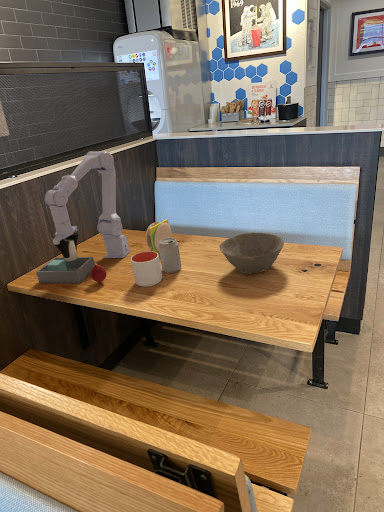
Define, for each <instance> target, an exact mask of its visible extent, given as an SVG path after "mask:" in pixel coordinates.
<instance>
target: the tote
mask: <svg viewBox="0 0 384 512" xmlns="http://www.w3.org/2000/svg"><path fill="white" fill-rule="evenodd" d="M53 260H65V259H64V257H63V256H59V257H58V256H57V257H53V258H52V259H51V260H49V261H48V262H47V263H45V264H44V265H43V266H41V267H40V268H39V269H38V270H36V271H35V274H36V276H37V281H38V284H49V285H50V284H52V285H55V284H57V285H58V284H59V285H60V284H63V285H65V284H69V285H71V284H76V285H77V284H79V285H80V284H81V283H82V282H83V281H84V280H85V279H86V278H87V277H88V276H89V275H90V272H91V270H92V268H93V267H94V266H95V260H94V256H78V258H77V259H76V260H73V261H65V264H66V268H67V271H48V269H47V264H49V263H50V262H51V261H53Z"/></svg>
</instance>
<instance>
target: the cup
mask: <svg viewBox="0 0 384 512" xmlns="http://www.w3.org/2000/svg"><path fill="white" fill-rule="evenodd" d="M130 263H131V268H132V274H133V279H134V283H135V284H136V286H139V287H145V288H146V287H147V288H148V287H153V286H155V285H158V284H159V283H160V282H161V281H162V278H163V273H162V266H161V259H160V254H159V253H156V252H153V251H149V250H148V251H147V250H145V251H140V252H138V253H136V254H133V255H132V256H131V257H130Z"/></svg>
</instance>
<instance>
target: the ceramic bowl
mask: <svg viewBox="0 0 384 512" xmlns="http://www.w3.org/2000/svg"><path fill="white" fill-rule="evenodd" d="M284 244H285V242H284V238H281V236H278V235H275V234H272V233H265V232H246V233H241V234H237V235H235V236H231V237H229V238H227V239H225V240H224V241H223V242H221V243H220V244H219V246H218V247H219V250H220V252H221V253H222V255H223V256H224V257H225V258H226V260H227V261H228V262H229V263H230V264H231V265H232V266H233V267H234V268H235V270H237V271H239V272H241V273H244V274H259V273H261V272H265V271H266V270H268V269H270V268H272V266H273V264H274V263H275V262H276V260H277V259H278V256H279V255H280V253H281V252H282V249H283V248H284V246H285V245H284Z"/></svg>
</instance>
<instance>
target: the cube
mask: <svg viewBox="0 0 384 512" xmlns="http://www.w3.org/2000/svg"><path fill="white" fill-rule="evenodd" d="M50 261H51V260H50ZM46 264H47V263H46ZM47 269H48V271H67V268H66V264H65V260H53V261H51V262H50V263H49V264H47Z"/></svg>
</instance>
